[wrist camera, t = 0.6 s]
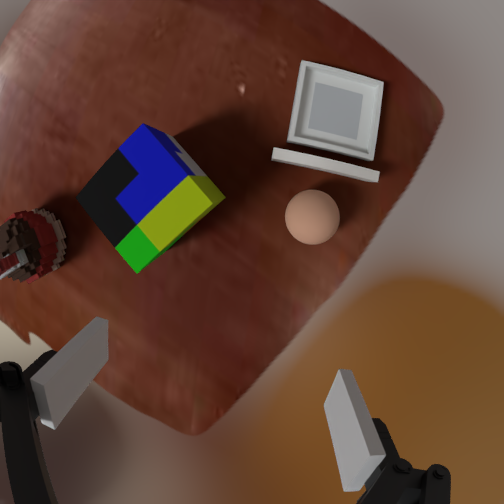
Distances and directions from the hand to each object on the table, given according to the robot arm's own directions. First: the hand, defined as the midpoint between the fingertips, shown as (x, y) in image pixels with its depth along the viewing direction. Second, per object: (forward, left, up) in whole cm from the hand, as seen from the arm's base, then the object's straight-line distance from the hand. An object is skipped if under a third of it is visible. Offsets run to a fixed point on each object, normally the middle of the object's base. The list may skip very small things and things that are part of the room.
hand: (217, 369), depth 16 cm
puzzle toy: (-7, -10, -23) cm, 26 cm away
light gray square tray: (-20, +8, -23) cm, 31 cm away
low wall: (-13, +7, -23) cm, 27 cm away
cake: (+2, -29, -23) cm, 37 cm away
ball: (-7, +7, -23) cm, 25 cm away
